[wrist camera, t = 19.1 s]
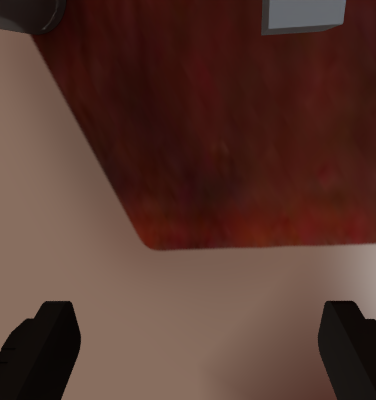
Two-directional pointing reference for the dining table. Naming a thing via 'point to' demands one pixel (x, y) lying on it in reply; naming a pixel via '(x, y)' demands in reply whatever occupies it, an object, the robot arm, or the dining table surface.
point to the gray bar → (301, 15)
